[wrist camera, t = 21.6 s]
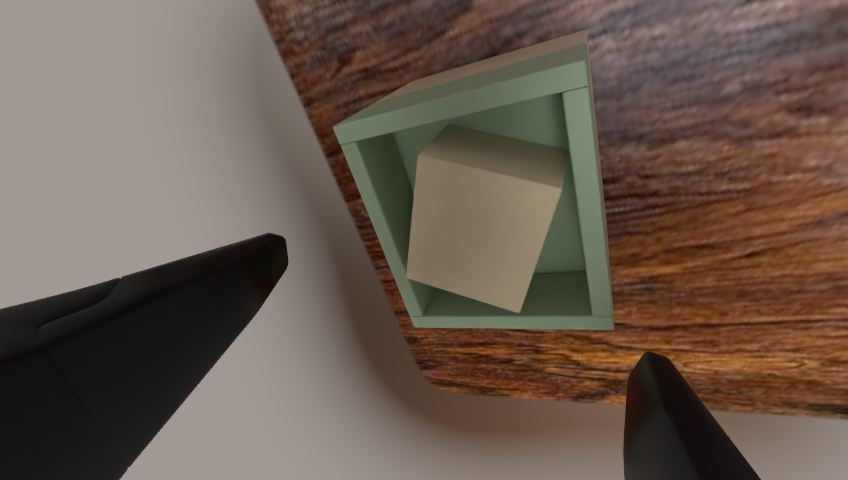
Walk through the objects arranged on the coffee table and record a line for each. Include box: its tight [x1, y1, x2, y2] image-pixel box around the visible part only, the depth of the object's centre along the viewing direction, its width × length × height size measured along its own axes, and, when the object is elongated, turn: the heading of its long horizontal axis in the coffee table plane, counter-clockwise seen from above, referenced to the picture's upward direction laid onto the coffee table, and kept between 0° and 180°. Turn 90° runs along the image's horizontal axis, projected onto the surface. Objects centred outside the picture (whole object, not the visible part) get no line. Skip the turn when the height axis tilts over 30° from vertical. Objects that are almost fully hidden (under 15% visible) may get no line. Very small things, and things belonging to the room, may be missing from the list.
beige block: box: [406, 125, 567, 313], centre depth 13 cm, size 5×4×3 cm
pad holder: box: [333, 30, 614, 330], centre depth 15 cm, size 8×7×7 cm
